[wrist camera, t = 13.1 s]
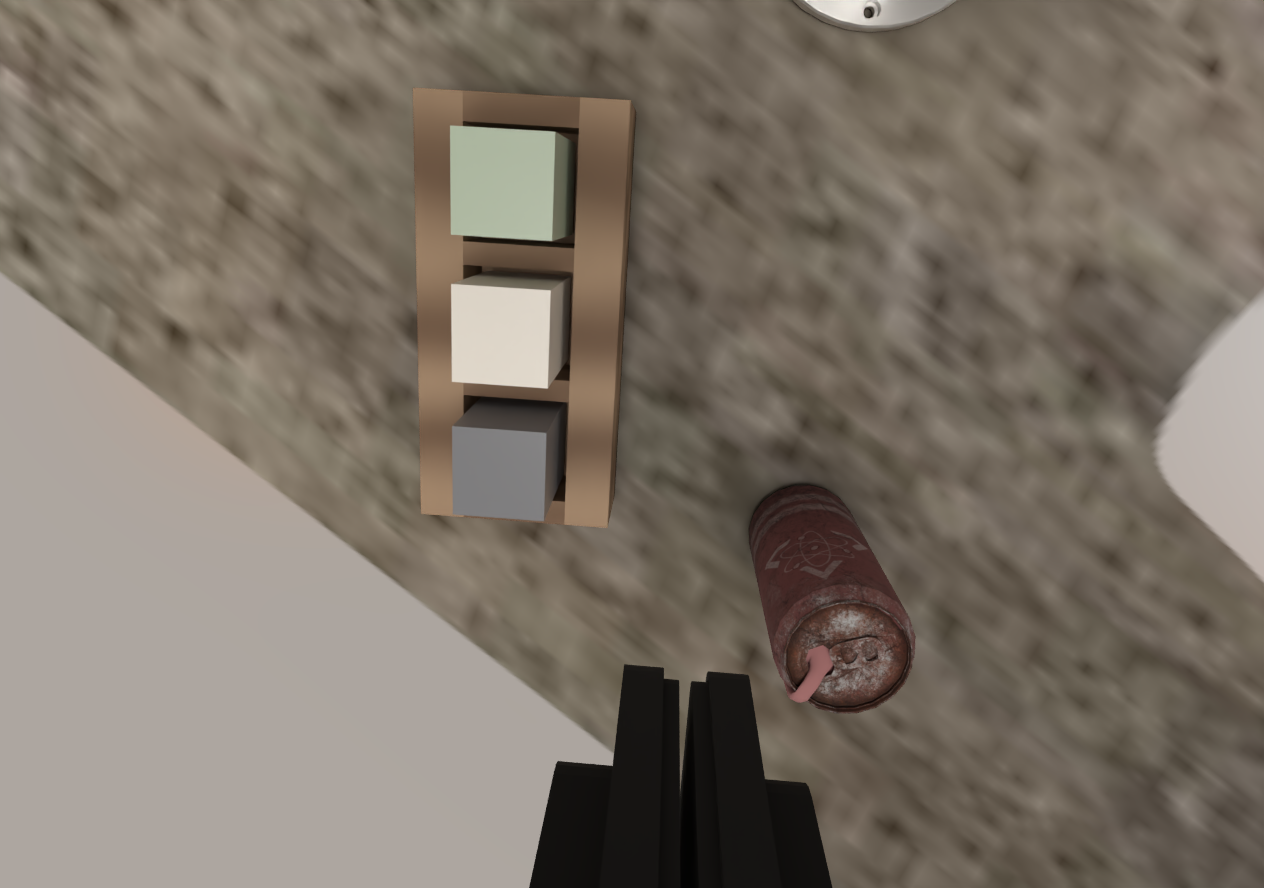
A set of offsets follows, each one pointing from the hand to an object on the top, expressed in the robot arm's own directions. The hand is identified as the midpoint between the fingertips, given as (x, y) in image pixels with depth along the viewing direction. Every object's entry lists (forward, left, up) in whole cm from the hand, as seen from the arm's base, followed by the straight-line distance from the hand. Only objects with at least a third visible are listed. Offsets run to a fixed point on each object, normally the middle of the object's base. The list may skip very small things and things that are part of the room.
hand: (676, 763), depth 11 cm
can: (+11, +8, -35) cm, 38 cm away
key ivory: (-1, -8, -33) cm, 34 cm away
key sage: (-7, -8, -33) cm, 35 cm away
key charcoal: (+6, -8, -33) cm, 34 cm away
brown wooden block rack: (-1, -8, -35) cm, 36 cm away
